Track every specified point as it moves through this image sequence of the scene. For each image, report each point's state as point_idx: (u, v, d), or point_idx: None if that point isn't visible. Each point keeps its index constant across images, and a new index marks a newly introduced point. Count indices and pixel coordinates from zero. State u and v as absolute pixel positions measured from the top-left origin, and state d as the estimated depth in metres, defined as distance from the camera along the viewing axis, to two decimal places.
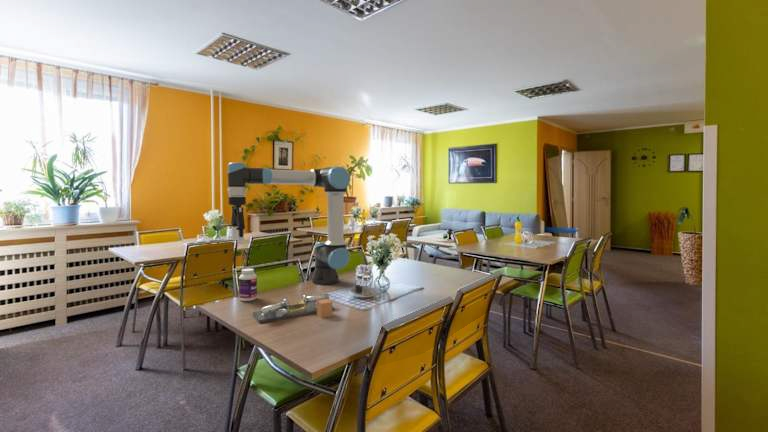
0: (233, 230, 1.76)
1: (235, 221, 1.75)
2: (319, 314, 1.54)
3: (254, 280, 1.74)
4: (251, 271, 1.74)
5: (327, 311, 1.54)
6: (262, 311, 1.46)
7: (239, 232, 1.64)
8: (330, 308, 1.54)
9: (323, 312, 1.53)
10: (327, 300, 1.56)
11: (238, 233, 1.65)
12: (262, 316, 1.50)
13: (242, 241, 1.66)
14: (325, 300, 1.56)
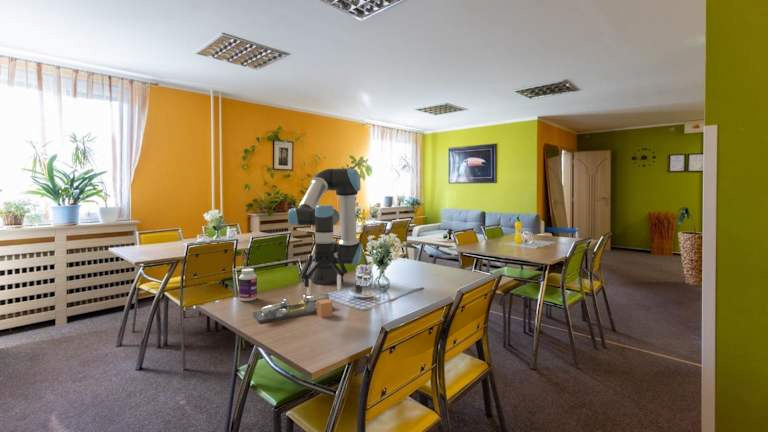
0: (337, 279, 1.58)
1: (335, 269, 1.57)
2: (319, 314, 1.54)
3: (254, 280, 1.74)
4: (251, 271, 1.74)
5: (327, 311, 1.54)
6: (262, 311, 1.46)
7: None
8: (330, 308, 1.54)
9: (323, 312, 1.53)
10: (327, 300, 1.56)
11: None
12: (262, 316, 1.50)
13: (308, 292, 1.50)
14: (325, 300, 1.56)
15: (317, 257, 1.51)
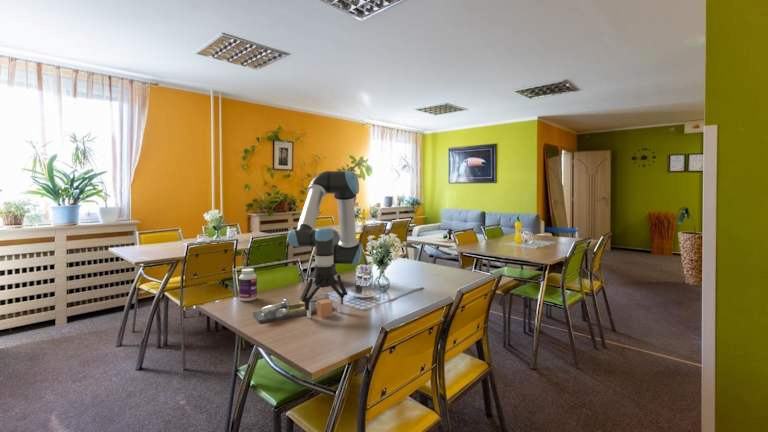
0: (337, 300, 1.59)
1: (335, 291, 1.58)
2: (319, 314, 1.54)
3: (254, 280, 1.74)
4: (251, 271, 1.74)
5: (327, 311, 1.54)
6: (262, 311, 1.46)
7: None
8: (330, 308, 1.54)
9: (323, 312, 1.53)
10: (327, 300, 1.56)
11: None
12: (262, 316, 1.50)
13: (308, 315, 1.51)
14: (325, 300, 1.56)
15: (317, 280, 1.52)
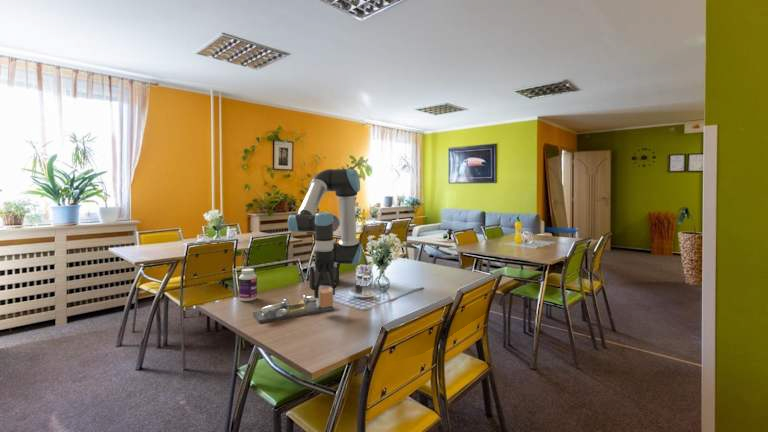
0: None
1: (329, 280, 1.56)
2: None
3: (254, 280, 1.74)
4: (251, 271, 1.74)
5: (327, 301, 1.54)
6: (262, 311, 1.46)
7: None
8: (330, 298, 1.54)
9: (323, 302, 1.53)
10: (327, 290, 1.56)
11: None
12: (262, 316, 1.50)
13: (318, 303, 1.54)
14: (325, 290, 1.57)
15: (318, 265, 1.52)
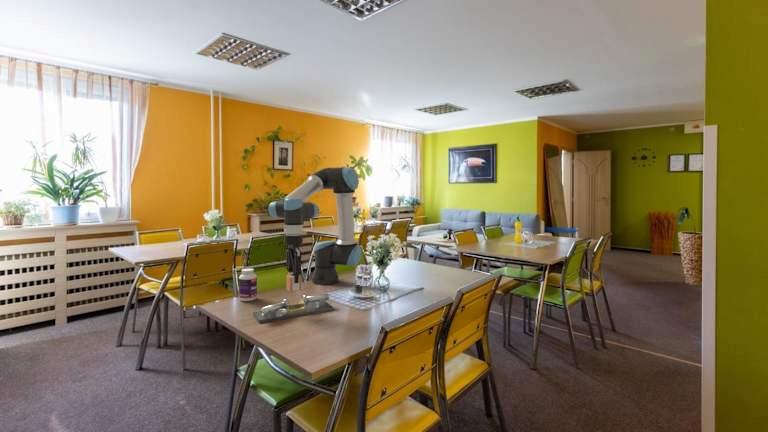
0: None
1: (291, 264, 1.59)
2: None
3: (254, 280, 1.74)
4: (251, 271, 1.74)
5: None
6: (262, 311, 1.46)
7: (294, 278, 1.54)
8: None
9: None
10: (291, 275, 1.58)
11: (293, 279, 1.54)
12: (262, 316, 1.50)
13: (297, 287, 1.55)
14: (291, 275, 1.57)
15: None
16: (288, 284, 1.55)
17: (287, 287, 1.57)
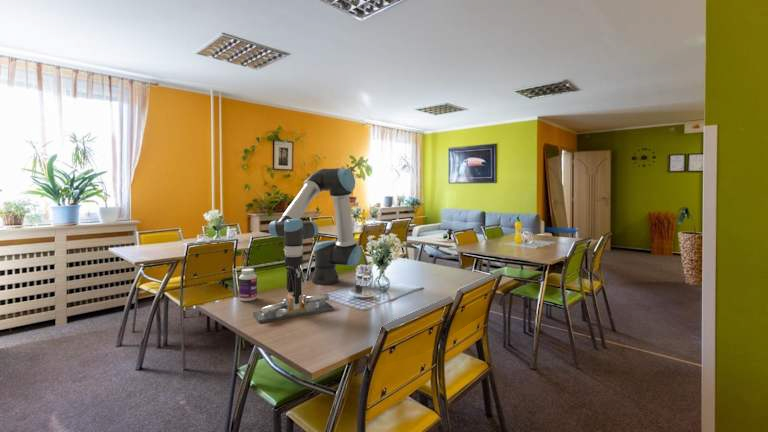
0: None
1: (291, 284, 1.60)
2: None
3: (254, 280, 1.74)
4: (251, 271, 1.74)
5: None
6: (262, 311, 1.46)
7: (295, 299, 1.54)
8: None
9: None
10: None
11: (294, 300, 1.55)
12: (262, 316, 1.50)
13: (297, 308, 1.56)
14: (291, 295, 1.58)
15: None
16: (289, 304, 1.56)
17: None
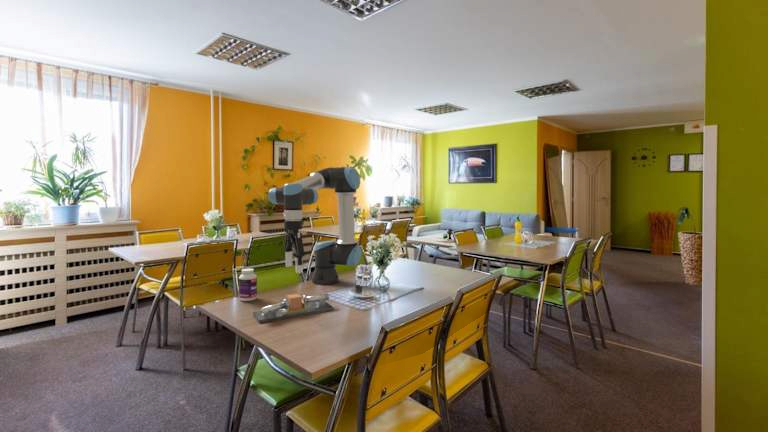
0: (287, 256, 1.62)
1: (289, 246, 1.61)
2: (297, 308, 1.57)
3: (254, 280, 1.74)
4: (251, 271, 1.74)
5: None
6: (262, 311, 1.46)
7: (298, 260, 1.50)
8: None
9: None
10: (292, 295, 1.59)
11: (297, 261, 1.51)
12: (262, 316, 1.50)
13: (300, 269, 1.52)
14: (291, 295, 1.58)
15: None
16: (289, 304, 1.56)
17: None
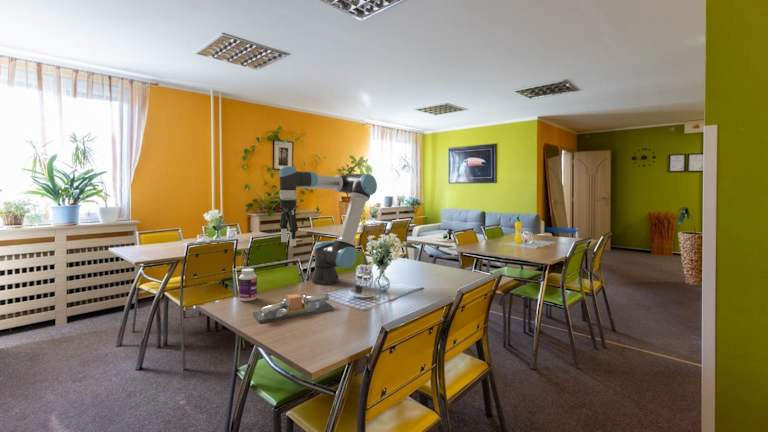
0: (282, 232, 1.80)
1: (284, 223, 1.79)
2: (297, 308, 1.57)
3: (254, 280, 1.74)
4: (251, 271, 1.74)
5: None
6: (262, 311, 1.46)
7: (292, 234, 1.68)
8: None
9: None
10: (292, 295, 1.59)
11: (291, 235, 1.69)
12: (262, 316, 1.50)
13: (294, 243, 1.70)
14: (291, 295, 1.58)
15: None
16: (289, 304, 1.56)
17: None
